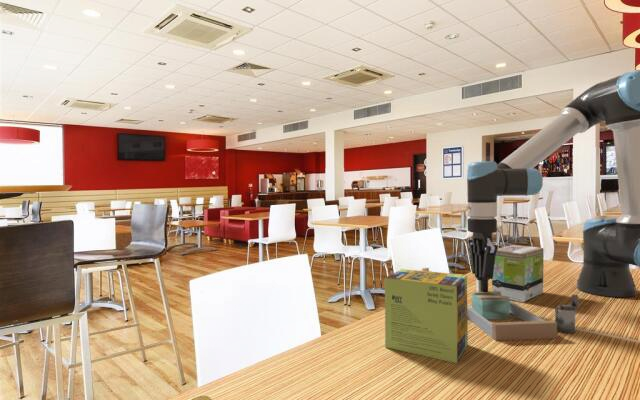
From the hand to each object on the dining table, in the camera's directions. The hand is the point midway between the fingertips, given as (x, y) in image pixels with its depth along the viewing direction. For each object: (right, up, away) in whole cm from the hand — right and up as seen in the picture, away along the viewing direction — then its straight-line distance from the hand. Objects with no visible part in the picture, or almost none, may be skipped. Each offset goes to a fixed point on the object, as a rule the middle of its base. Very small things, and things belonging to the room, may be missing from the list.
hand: (482, 302), depth 106 cm
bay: (+1, -2, -9) cm, 10 cm away
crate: (0, -2, -4) cm, 5 cm away
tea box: (+17, -2, +13) cm, 21 cm away
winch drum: (+13, -2, -16) cm, 21 cm away
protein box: (-22, -4, -23) cm, 32 cm away
